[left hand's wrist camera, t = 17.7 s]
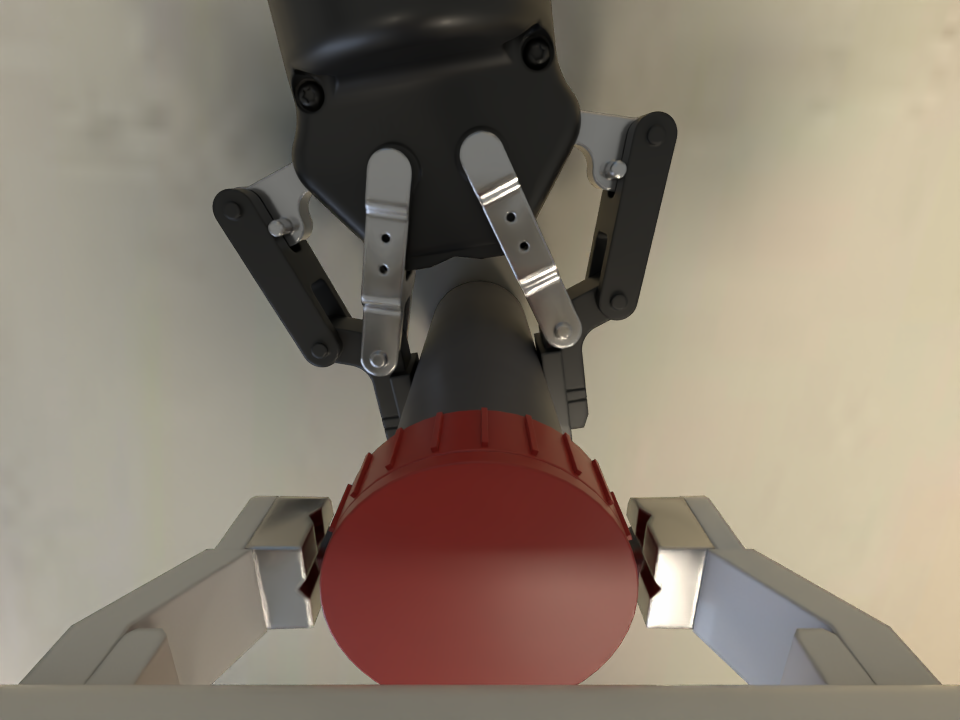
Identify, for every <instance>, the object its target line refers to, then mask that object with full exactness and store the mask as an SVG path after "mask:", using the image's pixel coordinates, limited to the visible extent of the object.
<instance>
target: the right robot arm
mask: <svg viewBox="0 0 960 720" xmlns="http://www.w3.org/2000/svg"><path fill="white" fill-rule="evenodd" d="M268 4H269V7H270V11H271V15H272V19H273V23H274V27H275V31H276V35H277V39H278V42H279V46H280V50H281V54H282V58H283V62H284V66H285V70H286V74H287V77H288V81H289V84H290V88H291V91H292V94H293V98H294V101H295V105H296V113H297V126H296V134H295V138H294V142H293V147H292V163H290V164H289V165H287V166H285V167H283V168H281V169H279V170H278V171H276V172H274V173H272V174H270V175H269V176H267V177H265V178H263V179H261V180H260V181H258V182H256V183H254V184H252V185H250V186H248V187H237V188H234V189H225V190H222V191H221V192H219V193H218V194H217V195H216V196H215V198H214V201H213V213H214V216H215V218H216V220H217V221H218V223H219V224H220V226H221V228H222V229H223V231H224V232H225V234H226V235H227V237H228V238H229V240H230V242H231V243H232V245H233V246H234V248H235V249H236V251H237V253H238V254H239V256H240V257H241V259H242V260H243V262H244V263H245V265H246V267H247V268H248V270H249V271H250V273H251V274H252V276H253V278H254V279H255V281H256V282H257V284H258V285H259V287H260V288H261V290H262V292H263V293H264V295H265V296H266V298H267V299H268V301H269V303H270V304H271V306H272V307H273V309H274V310H275V312H276V313H277V315H278V317H279V318H280V320H281V321H282V323H283V324H284V326H285V328H286V329H287V331H288V332H289V334H290V335H291V337H292V338H293V340H294V342H295V343H296V345H297V346H298V348H299V349H300V351H301V353H302V354H303V356H304V357H305V359H306V360H307V361H308V362H309V363H311V364H312V365H314V366H317V367H328V366H330V365H332V364H334V363H340V364H345V365H351V366H356V367H358V368H360V369H362V370H364V371H365V372H366V373H367V374H368V375H369V377H370V378H371V380H372V382H373V386H374V390H375V394H376V398H377V402H378V406H379V409H380V413H381V417H382V421H383V425H384V428H385V433H386V437H387V440H388V439H389V438H391V437H392V436H394V435H395V433H396V430H397V428H398V425H399V422H400V419H401V416H402V413H403V410H404V406H405V403H406V400H407V397H408V394H409V391H410V388H411V385H412V382H413V378H414V375H415V372H416V369H417V366H418V363H419V357H418V353H417V352H416V353H410V349H409V344H408V330H409V320H410V309H411V299H412V292H413V287H414V281H415V272H416V270H417V269H423V268H429V267H432V266H434V265H437V264H439V263H441V262H443V261H445V260H448V259H450V258H452V257H456V256H458V257H468V258H478V259H484V258H490V257H496V256H502V255H505V256H506V258H507V260H508V262H509V264H510V266H511V268H512V270H513V273H514V275H515V277H516V279H517V281H518V283H519V285H520V287H521V289H522V291H523V293H524V295H525V297H526V299H527V301H528V303H529V305H530V307H531V309H532V311H533V313H534V315H535V318H536V320H537V322H538V324H539V331H540V333H535V334H534V337H535V345H536V351H537V354H538V358H539V361H540V364H541V367H542V370H543V373H544V377H545V380H546V383H547V386H548V389H549V392H550V395H551V399H552V402H553V405H554V408H555V411H556V414H557V417H558V421H559V424H560V427H561V430H562V433H563V434H564V433H565V432H566V433H567V434H569V435H570V438H571V441H572V434H571V429H577V428H584V426H585V423H586V420H587V417H588V405H587V398H586V397H587V396H586V388H585V387H586V386H585V376H584V366H583V357H582V344H583V341H584V339H585V337H586V335H587V334H588V333H589V332H590V331H591V330H592V329H594V328H596V327H597V326H599V325H601V324H603V323H605V322H607V321H609V320H622V319H625V318H627V317H629V316H630V315H631V314H632V313H633V312H634V310H635V309H636V306H637V303H638V299H639V295H640V290H641V286H642V282H643V278H644V274H645V269H646V265H647V261H648V257H649V253H650V248H651V244H652V240H653V236H654V232H655V227H656V223H657V219H658V215H659V210H660V206H661V202H662V198H663V194H664V189H665V185H666V181H667V177H668V173H669V168H670V164H671V160H672V156H673V151H674V147H675V143H676V139H677V126H676V123H675V121H674V120H673V118H672V117H671V116H670V115H668V114H667V113H664V112H652V113H649V114H646V115H643V116H640V117H637V118H631V117H624V116H617V115H610V114H603V113H596V112H589V111H582V110H580V107H579V103H578V101H577V99H576V97H575V95H574V93H573V92H572V91H571V89H570V88H569V86H568V85H567V83H566V81H565V79H564V77H563V75H562V73H561V70H560V67H559V64H558V60H557V54H556V47H555V37H554V27H553V17H552V7H551V0H268ZM573 147H576V148H578V149H579V150H580V151H581V152H582V153H583V154H584V156H585V158H586V161H587V177H588V180H589V182H590V183H591V184H592V185H593V186H594V187H595V188H597V189H600V190H603V192H602V197H601V202H600V207H599V212H598V217H597V222H596V227H595V232H594V237H593V242H592V247H591V252H590V257H589V262H588V267H587V272H586V277H585V280H583V281H582V282H580V283H578V284H576V285H574V286H572V287H570V288H569V289H567V290H566V289H565V286H564V284H563V282H562V280H561V278H560V275H559V272H558V269H557V267H556V264H555V262H554V260H553V257H552V255H551V253H550V251H549V249H548V246H547V244H546V242H545V240H544V237H543V235H542V233H541V231H540V228H539V226H538V224H537V222H536V218H537V216H538V214H539V212H540V210H541V208H542V206H543V204H544V202H545V200H546V199H547V197H548V195H549V193H550V191H551V189H552V187H553V185H554V183H555V181H556V179H557V177H558V176H559V174H560V172H561V170H562V168H563V166H564V164H565V162H566V160H567V158H568V156H569V154H570V153H571V151H572V149H573ZM312 194H313V195H314V196H315V197H316V198H317V199H318V200H319V201H320V202H321V203H322V204H323V205H324V206H325V207H327V208H328V209H329V210H330V211H331V212H332V213H333V214H334V215H335V216H336V217H337V218H338V219H339V220H340V221H341V222H343V223H344V224H345V225H346V226H347V227H348V228H349V229H350V230H351V231H352V232H353V233H354V234H355V235H356V236H357V237H358V238H360V239H361V240H362V241H363V242H364V257H363V273H362V290H361V302H362V305H363V320H361V319H356V318H352V317H351V315H350V314H349V312H348V310H347V308H346V307H345V305H344V303H343V302H342V300H341V298H340V297H339V295H338V293H337V292H336V290H335V288H334V286H333V285H332V283H331V281H330V280H329V278H328V276H327V275H326V273H325V271H324V269H323V268H322V266H321V264H320V263H319V261H318V259H317V258H316V256H315V254H314V252H313V251H312V249H311V247H310V246H309V244H308V242H307V241H306V239H307V238H308V237H309V236H310V235H311V233H312V230H313V222H312V218H311V216H310V214H309V209H308V204H309V200H310V198H311V196H312Z"/></svg>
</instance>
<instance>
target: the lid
mask: <svg viewBox="0 0 960 720" xmlns="http://www.w3.org/2000/svg"><path fill="white" fill-rule="evenodd" d="M329 531H330V532H333V533H332V536H331V538H330V541H329V543H328V545H327V548H326V551H325V554H324V558H323V561H322V565H321V571H320V580H319V587H320V601H321V605H322V610H323V614H324V617H325V620H326V622H327V625H328V627H329V630H330V632H331V634H332V636H333V637H334V639H335V641H336V642H337V644H338V646H339V647H340V648H341V650H342V651H343V652H344V653H345V655H346V656H347V657H348V658H349V659H350V660H351V661H352V662H353V663H354V664H355V665H356V666H357V667H358V668H359V669H360V670H361V671H362V672H363V673H365V674H366V675H367V676H369V677H370V678H371V679H373V680H374V681H375V682H377V683H379V684H380V685H578V684H579V683H581V682H583V681H584V680H585V679H587V678H588V677H589V676H591V675H592V674H593V673H594V672H596V671H597V670H598V669H599V668H600V667H601V666H602V665H603V664H604V663H605V662H606V661H607V660H608V659H609V658H610V657H611V656H612V655H613V653H614V652H615V651H616V649H617V648H618V647H619V646H620V644H621V642H622V641H623V639H624V637H625V635H626V634H627V632H628V630H629V627H630V625H631V622H632V620H633V617H634V614H635V609H636V605H637V600H638V586H639V580H638V572H637V565H636V561H635V558H634V554H633V551H632V548H631V545H630V543H629V540H632V536H631V533H630V531H629V529H628V526H627V524H626V521H625V519H624V517H623V514H622V512H621V509H620V507H619V505H618V502H617V500H616V497H615V495H614V493H613V492H610V491H609V489H608V486H607V484H606V481H605V479H604V476H603V474H602V471H601V469H600V466H599V464H598V462H597V461H596V460H595V459H594V460H593V461H592V460H591V459H590V458H589V457H588V456H587V455H586V454H585V453H584V452H583V451H582V449H581V448H580V447H578V446H577V445H576V444H575V443H574V442H572V441H571V438H570V435H569V434H567V433H566V432H565V433H564V434H561V433H560V432H558V431H556V430H555V429H553V428H551V427H549V426H547V425H545V424H543V423H540V422H538V421H536V420H533V419H532V417H531V416H530V415H527V414H526V415H525V417H524V416H520V415H517V414H512V413H507V412H501V411H490V410H487V408H483V407H482V408H481V410H468V411H457V412H452V413H446V414H443V413H442V412H438V413H437V414H436V416H434V417H431V418H428V419H425V420H422V421H420V422H418V423H416V424H413V425H411V426H409V427H407V428H405V429H402V428H399V429H397V430H396V433H395V435H394V436H392V437H391V438H389V439H388V440H387V441H386V442H385V443H383V444H382V445H381V446H380V447H379V448H377V450H376V451H375V452H374V453H373V454H371V453H368V454H367V455H366V456H365V459H364V461H363V464H362V466H361V469H360V471H359V472H358V474H357V476H356V478H355V480H354V482H353V485H350V484H348V485H347V488H346V490H345V492H344V495H343V497H342V499H341V502H340V504H339V507H338V509H337V511H336V514H335V516H334V518H333V521H332V523H331V526H330V528H329Z"/></svg>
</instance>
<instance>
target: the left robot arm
mask: <svg viewBox="0 0 960 720" xmlns="http://www.w3.org/2000/svg"><path fill="white" fill-rule="evenodd" d="M333 515H334V514H333V508H332V501H331V500H330V499H329V497H300V496H280V497H279V496H255V497H253V498H251V499H250V500H249V501H248V503H247V504H246V506H245V507H244V508H243V510H242V511H241V513H240V514H239V515H238V517H237V518H236V520H235V521H234V522H233V524H232V525H231V527H230V528H229V529H228V531H227V532H226V534H225V535H224V537H223V538H222V539H221V541H220V542H219V544H218V545H217V546H216V548H215V549H206V550H204V551H203V552H201V553H199V554H197V555H196V556H194V557H192V558H190V559H188V560H187V561H185V562H183V563H181V564H180V565H178V566H176V567H174V568H173V569H171V570H169V571H167V572H166V573H164V574H162V575H160V576H158V577H157V578H155V579H153V580H151V581H150V582H148V583H146V584H144V585H143V586H141V587H139V588H137V589H135V590H134V591H132V592H130V593H128V594H127V595H125V596H123V597H121V598H120V599H118V600H116V601H114V602H113V603H111V604H109V605H107V606H105V607H104V608H102V609H100V610H98V611H97V612H95V613H93V614H91V615H90V616H88V617H86V618H84V619H83V620H81V621H79V622H77V623H75V624H74V625H72V626H71V627H70V628H69V629H68V630H67V631H66V632H65V633H64V634H63V636H62V637H61V638H60V639H59V640H58V641H57V642H56V643H55V644H54V645H53V647H52V648H51V649H50V650H49V651H48V652H47V653H46V654H45V655H44V656H43V658H42V659H41V660H40V661H39V662H38V663H37V664H36V665H35V666H34V668H33V669H32V670H31V671H30V672H29V673H28V674H27V675H26V676H25V677H24V679H23V680H22V681H21V682H20V683H19V684H18V685H0V720H960V685H942V684H941V683H940V682H939V681H938V680H937V678H936V677H935V676H934V675H933V674H932V673H931V672H930V671H929V670H928V668H927V667H926V666H925V665H924V664H923V663H922V662H921V661H920V660H919V658H918V657H917V656H916V655H915V654H914V653H913V652H912V651H911V650H910V648H909V647H908V646H907V645H906V644H905V643H904V642H903V641H902V640H901V638H900V637H899V636H898V635H897V634H896V633H895V632H894V631H893V630H892V628H891V627H889V626H888V625H886V624H884V623H882V622H881V621H879V620H877V619H875V618H874V617H872V616H870V615H868V614H867V613H865V612H863V611H861V610H860V609H858V608H856V607H854V606H853V605H851V604H849V603H847V602H845V601H844V600H842V599H840V598H838V597H837V596H835V595H833V594H831V593H830V592H828V591H826V590H824V589H823V588H821V587H819V586H817V585H816V584H814V583H812V582H810V581H809V580H807V579H805V578H803V577H801V576H800V575H798V574H796V573H794V572H793V571H791V570H789V569H787V568H786V567H784V566H782V565H780V564H779V563H777V562H775V561H773V560H772V559H770V558H768V557H766V556H765V555H763V554H761V553H759V552H757V551H756V550H754V549H745V548H744V546H743V545H742V544H741V542H740V541H739V539H738V538H737V537H736V535H735V534H734V532H733V531H732V530H731V528H730V527H729V525H728V524H727V523H726V521H725V520H724V518H723V517H722V516H721V514H720V513H719V511H718V510H717V509H716V507H715V506H714V504H713V503H712V502H711V500H710V499H709V498H708V497H706V496H680V497H646V498H630V500H629V503H628V507H627V517H628V520H629V522H630V525H631V527H630V528H629V531H630V533H631V536H632V540H629V543H630V545H631V548H632V551H633V554H634V558H635V561H636V565H637V572H638V580H639V586H638V600H637V603H638V605H639V608H640V611H641V613H642V616H643V619H644V621H645V624H646V627H647V628H670V629H693V632H694V633H695V634H696V635H697V636H698V637H699V638H700V639H701V640H702V641H703V642H705V643H706V644H707V645H708V646H709V647H710V648H711V649H712V650H713V651H714V652H715V653H716V654H717V655H718V656H719V657H720V658H721V659H723V660H724V661H725V662H726V663H727V664H728V665H729V666H730V667H731V668H732V669H733V670H734V671H735V672H736V673H737V674H738V675H739V676H740V677H742V678H743V679H744V680H745V681H746V682H747V683H748V684H749V685H211V684H212V683H213V682H214V681H216V680H217V679H218V678H219V677H220V676H221V675H222V674H223V673H224V672H225V671H226V670H227V669H228V668H229V667H230V666H231V665H232V664H234V663H235V662H236V661H237V660H238V659H239V658H240V657H241V656H242V655H243V654H244V653H245V652H246V651H247V650H248V649H249V648H251V647H252V646H253V645H254V644H255V643H256V642H257V641H258V640H259V639H260V638H261V637H262V636H263V635H264V634H265V633H266V632H267V629H289V628H313V627H314V624H315V622H316V619H317V616H318V614H319V611H320V608H321V606H322V605H321V601H320V587H319V580H320V571H321V565H322V561H323V558H324V554H325V551H326V548H327V545H328V543H329V541H330V538H331V536H332V533H333V532H330V531H329V528H330V527H329V525H330V522H331V520H332V517H333Z"/></svg>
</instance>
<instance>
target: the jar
mask: <svg viewBox="0 0 960 720" xmlns="http://www.w3.org/2000/svg"><path fill="white" fill-rule="evenodd" d="M482 407H483V408H487V410H490V411H501V412H507V413H512V414H517V415H520V416H524V417H525V415H526V414H527V415H530V416H531V417H532V419H533V420H536V421H538V422H540V423H543V424H545V425H547V426H549V427H551V428H553V429H555V430H556V431H558V432H560V433H561V434H563V433H562V430H561V427H560V424H559V421H558V417H557V414H556V411H555V408H554V405H553V402H552V399H551V395H550V392H549V389H548V386H547V383H546V380H545V377H544V373H543V370H542V367H541V364H540V361H539V358H538V354H537V351H536V348H535V345H534V342H533V339H532V336H531V332H530V329H529V326H528V323H527V320H526V317H525V313H524V310H523V308H522V306H521V304H520V303H519V301H518V300H517V299H516V298H515V296H514V295H513V294H511V293H510V292H509V291H508V290H506V289H505V288H503V287H501V286H499V285H496V284H494V283H489V282H482V281H477V282H469V283H465V284H462V285H460V286H458V287H456V288H454V289H453V290H451V291H450V292H449V293H447V294H446V295H445V296H444V297H443V299H442V300H441V301H440V303H439V304H438V306H437V308H436V310H435V313H434V316H433V319H432V322H431V325H430V328H429V332H428V335H427V338H426V341H425V344H424V347H423V350H422V353H421V357H420V360H419V363H418V366H417V369H416V372H415V375H414V378H413V382H412V385H411V388H410V391H409V394H408V397H407V400H406V403H405V406H404V410H403V413H402V416H401V419H400V422H399V425H398V428H397V429H399V428H402V429H405V428H407V427H409V426H411V425H413V424H416V423H418V422H420V421H422V420H425V419H428V418H431V417H434V416H436V414H437V413H438V412H442V413H443V414H446V413H452V412H457V411H468V410H481V408H482Z"/></svg>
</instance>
